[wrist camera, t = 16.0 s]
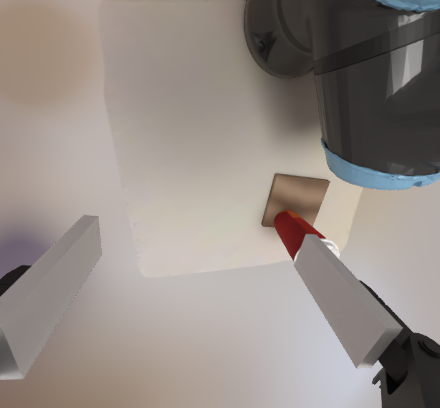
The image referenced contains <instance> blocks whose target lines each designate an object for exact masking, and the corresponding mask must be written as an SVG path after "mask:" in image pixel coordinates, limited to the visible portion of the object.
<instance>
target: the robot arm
mask: <svg viewBox="0 0 440 408" xmlns="http://www.w3.org/2000/svg"><path fill="white" fill-rule="evenodd" d="M244 29H245V36H246V41H247V44H248V47H249V50H250V52H251V54H252V56H253V58H254V59H255V61H256V62H257V63H258V65H259V66H260V67H261V68H262V69H263V70H265V71H266V72H268V73H269V74H271V75H273V76H276V77H281V78H292V77H296V76H300V75H303V74H306V73H308V72H310V71H312V70H314V73H315V83H316V90H317V98H318V107H319V115H320V124H321V132H322V138H321V143H322V146H323V148H324V150H325V155H326V160H327V165H328V167H329V169H330V170H331V171H332V172H333V173H334V174H335V175H336V176H337V177H338V178H340V179H342V180H344V181H346V182H348V183H351V184H353V185H357V186H360V187H366V188H372V189H379V190H403V189H409V188H411V187H412V185H414V186H418V187H422V186H425V185H429V184H431V183H433V182H435V181H437V180H439V179H440V0H247V2H246V7H245V14H244ZM101 255H102V250H101V240H100V229H99V219H98V216H87V215H84V216H83V217H82V218H80V219H79V220H78V221H77V222H76V223H75V224H74V225H73V226H72V227H71V228H70V229H69V230H68V231H67V232H66V233H65V234H64V235H63V236H62V237H61V238H60V239H59V240H58V241H57V242H56V243H55V244H54V245H53V246H52V247H51V248H50V249H49V250H48V251H47V252H46V253H45V254H44V255H43V256H42V257H41V258H40V259H39V260H38V261H36V263H34V265H32V266H26V265H22V266H20V267H18V268H16V269H14V270H12V271H11V272H9V273H7V274H6V275H5V276H4V277H2V278H1V279H0V379H23V378H24V377H25V375H26V374H27V372H28V370H29V369H30V367H31V366H32V364H33V363H34V361H35V359H36V358H37V356H38V354H39V353H40V351H41V350H42V348H43V347H44V345H45V344H46V342H47V340H48V339H49V337H50V336H51V334H52V332H53V331H54V329H55V328H56V326H57V325H58V323H59V321H60V320H61V318H62V317H63V315H64V313H65V312H66V310H67V309H68V307H69V306H70V304H71V302H72V301H73V299H74V298H75V296H76V295H77V293H78V291H79V290H80V288H81V287H82V285H83V283H84V282H85V280H86V279H87V277H88V276H89V274H90V272H91V271H92V269H93V267H94V266H95V265H96V263H97V261H98V260H99V258H100V257H101ZM294 267H295V268H296V270H297V272H298V273H299V275H300V276H301V278H302V280H303V281H304V283H305V285H306V286H307V288H308V289H309V291H310V293H311V294H312V296H313V298H314V300H315V301H316V303H317V304H318V306H319V308H320V309H321V311H322V312H323V314H324V316H325V318H326V319H327V321H328V323H329V324H330V326H331V327H332V329H333V331H334V332H335V334H336V336H337V337H338V339H339V340H340V342H341V344H342V345H343V347H344V349H345V350H346V352H347V354H348V355H349V357H350V359H351V360H352V362H353V363H354V365H355V367H356V368H372V367H373V365H374V364H375V363H376V362H377V360H379V362H380V363H381V365H382V366H383V368H382V369H381V370H380V371H379V372H378V374H377V375H376V376H375V377H374V378H373V381H372V383H373V384H374V385H375V384H376V383H377V382H378V381H379V380H380V381H381V385H380V386H379V388H381V398H382V408H440V345H439V344H437V343H436V342H435V341H433V340H432V339H430V338H429V337H427V336H424V335H422V334H420V333H413V332H412V331H411V330H410V329H409V328H408V327H407V326H406V325H405V324H404V322H403V321H402V320H401V319H399V317H398V316H397V315H396V314H395V313H394V312H393V311H392V310H391V309H390V308H389V307H388V306H387V305H385V303H384V302H383V300H382V299H381V298H379V297H378V295H377V294H376V293H375V292H374V291H373V290H372V289H371V288H370V287H368V286H367V285H366V284H364V283H363V282H362V281H360V280H358V279H357V278H356V277H355V276H354V275H353V274H352V273H351V272H350V271H349V270H348V269H347V267H346V266H345V265H344V264H343V263H342V262H341V261H340V260H339V259H338V258H337V257H336V255H335V254H334V253H333V252H332V251H331V250H330V249H329V248H328V247H327V246H326V245H325V244H324V242H323V241H322V240H321V239H320V238H319V237H318V236H317V235H314V234H306V235H305V238H304V240H303V243H302V246H301V248H300V251H299V253H298V256H297V258H296V261H295V263H294Z"/></svg>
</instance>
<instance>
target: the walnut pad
mask: <svg viewBox="0 0 440 408" xmlns="http://www.w3.org/2000/svg"><path fill="white" fill-rule="evenodd" d="M329 183H330V181H328V180H323V179H315V178H307V177H299V176H290V175H282V174H275V176H274V180H273V184H272V187H271V191H270V195H269V198H268V202H267V206H266V209H265V213H264V217H263V220H262V226H263V227H274V219H275V217H276V215H277V214H278V213H280V212H281V211H284V210H292V211H294V212H295V213H297V214H298V215H299V216H300V217H302V218H303V219H304V220H305V221H306V222H307V223H309V224H310V225H311V226H312V227H313V224H314V222H315V219H316V217H317V214H318V211H319V209H320V206H321V204H322V201H323V199H324V196H325V193H326V191H327V188H328V186H329Z"/></svg>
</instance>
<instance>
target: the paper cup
mask: <svg viewBox="0 0 440 408" xmlns="http://www.w3.org/2000/svg"><path fill="white" fill-rule="evenodd" d="M274 227H275V229H276V231H277V233H278V234H279V236H280V238H281V240H282V242H283V243H284V245H285V247H286V249H287V251H288V253H289V254H290V256H291V258H292V259H293V261H294V263H295V261H296V258H297V256H298V253H299V251H300V248H301V246H302V243H303V240H304V238H305V235H306V234H314V235H317V236H318V237H319V238H320V239H321V240H322V241H323V242H324V244H325V245H326V246H327V247H328V248H329V249H330V250H331V251H332V252H333V253H334V254H335V255H336V257H337V258H338V259H339V257H340V253H339V249H338V247H337V245H336V244H335V243H334V242H333V241H331V240H329V239H326V238H325V237H324V236H323V235H322V234H320V233H319V232H318V231H317V230H316V229H315V228H313V227H312V226H311V225H310V224H309V223H307V222H306V221H305V220H304V219H303V218H302V217H300V216H299V215H298V214H297V213H295V212H294V211H292V210H284V211H281V212H280V213H278V214H277V215H276V217H275V219H274Z"/></svg>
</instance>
